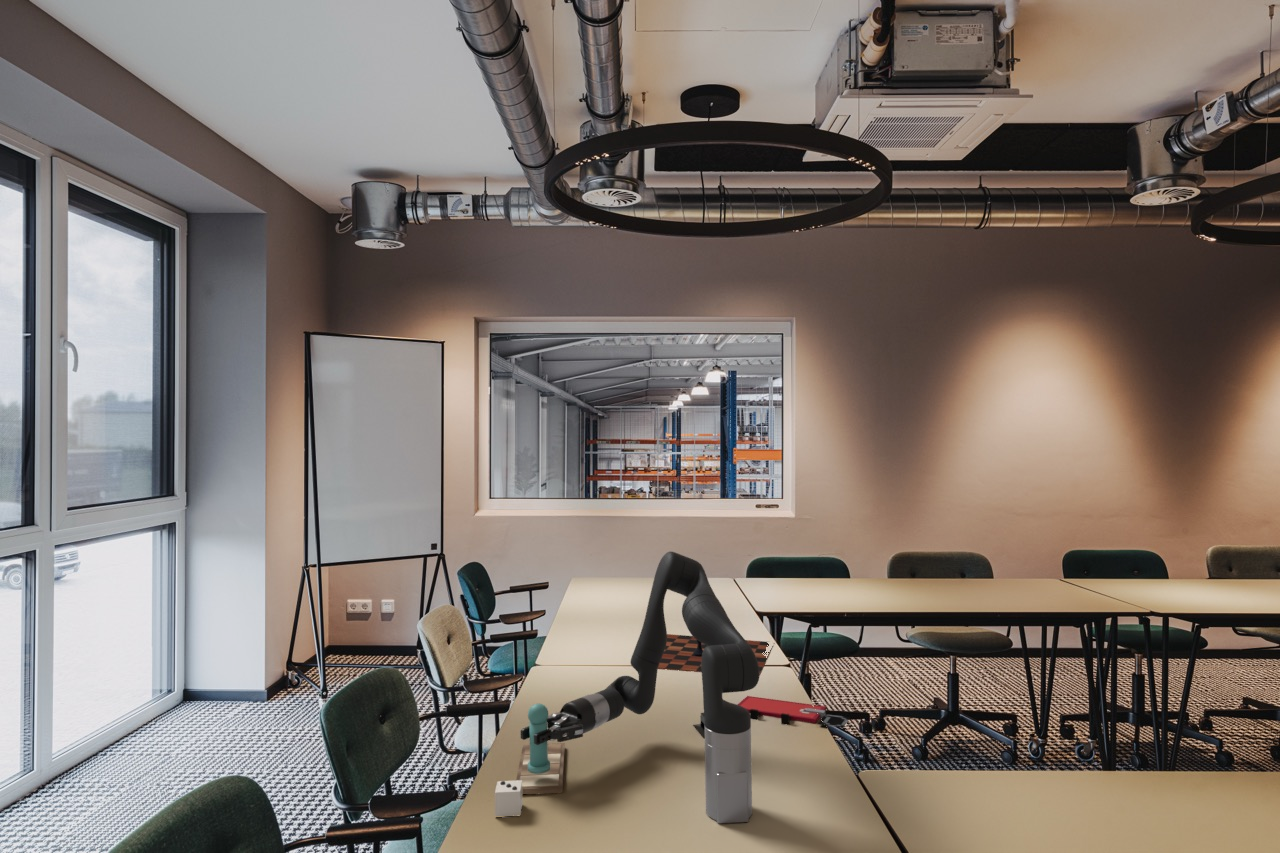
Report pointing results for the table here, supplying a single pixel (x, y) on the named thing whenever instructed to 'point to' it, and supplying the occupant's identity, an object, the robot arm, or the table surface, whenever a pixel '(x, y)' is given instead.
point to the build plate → (701, 726)
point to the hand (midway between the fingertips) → (528, 737)
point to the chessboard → (697, 653)
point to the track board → (543, 781)
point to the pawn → (539, 752)
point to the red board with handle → (791, 711)
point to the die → (508, 798)
